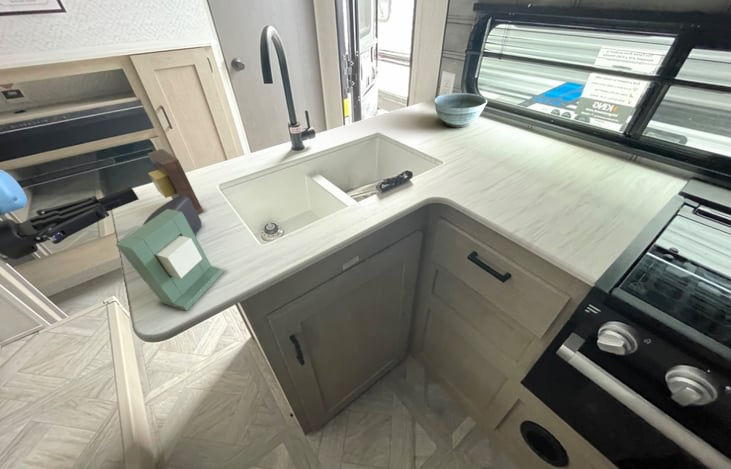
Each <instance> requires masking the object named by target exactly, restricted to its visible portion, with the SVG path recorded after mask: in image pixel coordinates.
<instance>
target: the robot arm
mask: <svg viewBox="0 0 731 469" xmlns="http://www.w3.org/2000/svg"><path fill="white" fill-rule="evenodd" d="M139 199H140V198H139V196H138V195H137V194H136V192H135V190H134V189H133V188H132V187H128V188H125V189H123V190H120V191H117V192H113V193H111V194H109V195H106V196H103V197H100V198H98V197H97V196H96V195H92V196H89V197H85V198H82V199H79V200H75V201H74V200H73V201H71V202H68V203H64V204H60V205H56V206H53V207H48V208H40V209H37V210H36V211H35V213H36V214H37V215H35V216H32V217H29V219H27V220H25V221H22V222H20V223H19V222H16V221H15V220H14V219H11V218H5V219H2V220H0V267H1V266H4V265H6V264H8V263H10V261H11V260H16V261H17V260H19V259H22V258H24V257H27V256H29V255H32V254H35V253H36V252H37V251H38V249H39V248H38V244H42V243H45V242H47V241H50V242H51V243H53V245H57V244H60V243H62V242H63V241H64V240H66V239H67V238H68V237H70V236H72V235H74V234H77V233H79V232H80V231H83V230H84V229H86V228H88V227H91V226H92V225H94V224H96V223H98V222H100V221H102V220H104V219H106V218H108V217H109V216H110V214H109V212H110V211H113V210H115V209H118V208H120V207H123V206H126V205H128V204H130V203H133V202H136V201H138V200H139ZM27 204H28V197H27V195H26V192H25V191H24V189H23V187H22V186H21V185H20V184H19V182H18V181H17V180H16V179H15V178H14V177H13V176H12V175H11V174H9V173H8V172H7V171H5V170H4V169H3V170H2V169H0V216H5V215H6V214H8V213H11V212H15V211H18V210H22V209H24V208H25V207H26V206H27Z"/></svg>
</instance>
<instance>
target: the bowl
mask: <svg viewBox="0 0 731 469" xmlns="http://www.w3.org/2000/svg"><path fill="white" fill-rule="evenodd" d="M433 102H434V106H435V111H436V115H437V116H438V117H439V119H440V120H441V121H443V122H444V123H445V125H446V126H448V127H452V128H464V127H466V126H468V125H469V123H472V122H475V120H477V119H478V118H479V117H480V115H481V114H482V113H483V111H484V109H485V106H486V105H487V104H488V100H487V98H486V97H485V96H482V95H480V94H475V93H467V92H453V93H445V94H442V95H438V96H436V98H434V100H433Z"/></svg>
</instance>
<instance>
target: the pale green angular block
mask: <svg viewBox="0 0 731 469" xmlns="http://www.w3.org/2000/svg"><path fill="white" fill-rule="evenodd" d="M143 224H144V223H143ZM143 224H142V225H141V226H140V227H138V228H137V229H136V230H133V232H131V233H130V234H128V235H126V236H125V237H124V238H122V239H121V240H119V241H118V242H116V243H115V246H116V247H117V248H118V249H119V251H120V252H121V254H122V255H123V256H124V258H126V259H127V261H128V262H129V264H130V265H131V266H132V267H133V269H135V271H136V272H137V273H138V275H139V276H140V277H141V278H142V280H143V281H144V282H145V283H146V285H147V286H148V287H149V288H150V290H151V291H152V292H153V293H154V295H155V296H156V297H157V298H158V299H159V300H160V302H161V303H162V304H165V305H168V306H170V307H174V308H177V309H179V310H182V311H186V312H188V311H189V309H190V308H191V307H192V306H193V305H194V304H196V302H197V301H198V300H199V299H200V298H201V296H203V294H205V292H206V291H207V290H209V288H210V287H211V286H212V285H213V284H214V283H215V282H216V281H217V280H218V279H219V278H220V276H222V275H223V273H224V271H223V270H222V268H219V267H216V266H213V265H212V264H211V262H210V261H209V259H208V257H207V255H206V253H205V251H204V250H203V248H202V246H201V244H200V242H199V240H198V239H197V236H196V234H195V235H194V233H193V231H192V229H191V227H190V226H189V224H188V222H187V220H186V218H185V216H184V215H183V213H182V212H179V211H175V210H170V209H166V210H165V211H164V212H162V213H161V214H159V215H158V216H156V217H155V218H153V219H152V220H150V221H149V222H147V223H146V224H144V225H143ZM178 235H179V236H183V237H187V238H191V239H192V241H193V243H194V245H195V246H196V248H197V250H198V252H199V254H200V255H201V257H202V260H201V261H199V262H198V263H197V264H196V265H195V266H194V267H193V268H192V269H191V270H190V271H189V272H188V273H187V274H186V275H184V276H183V277H182V278H178V277H174V276H171V275H168V273H167V272H166V271H165V269H164V268H163V266H162V265H161V263H160V262H159V261H158V259H157V258H156V256H155V255H154V254H156V253H157V252H158V251H159V250H161V249H162V248H163V247H164V246H166V245H167V244H168V243H170V242H171V241H172V240H173V239H175V238H176V237H177V236H178Z"/></svg>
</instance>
